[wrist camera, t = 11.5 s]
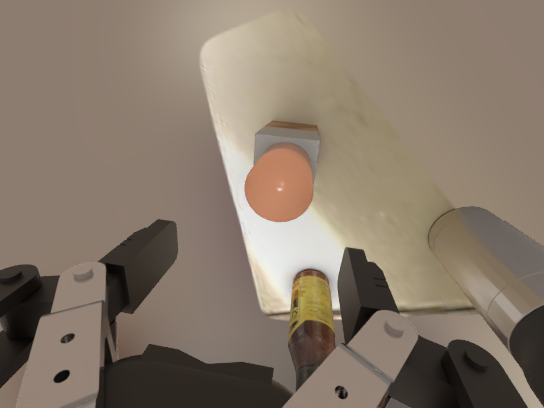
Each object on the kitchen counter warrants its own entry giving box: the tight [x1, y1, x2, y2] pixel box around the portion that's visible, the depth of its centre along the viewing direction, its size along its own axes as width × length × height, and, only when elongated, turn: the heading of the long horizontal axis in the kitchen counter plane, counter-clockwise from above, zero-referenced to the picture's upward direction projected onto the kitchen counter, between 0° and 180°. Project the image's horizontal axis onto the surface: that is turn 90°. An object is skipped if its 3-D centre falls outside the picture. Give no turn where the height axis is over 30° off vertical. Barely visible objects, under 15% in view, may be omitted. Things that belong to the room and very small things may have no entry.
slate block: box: [254, 126, 320, 184], centre depth 28 cm, size 6×6×6 cm
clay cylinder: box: [245, 142, 313, 222], centre depth 22 cm, size 5×5×6 cm
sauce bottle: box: [288, 270, 336, 392], centre depth 36 cm, size 6×6×20 cm
